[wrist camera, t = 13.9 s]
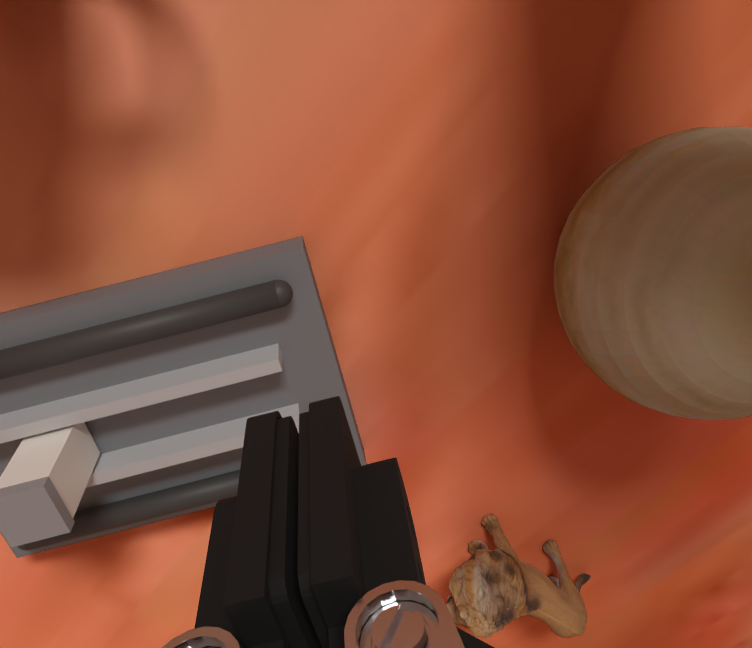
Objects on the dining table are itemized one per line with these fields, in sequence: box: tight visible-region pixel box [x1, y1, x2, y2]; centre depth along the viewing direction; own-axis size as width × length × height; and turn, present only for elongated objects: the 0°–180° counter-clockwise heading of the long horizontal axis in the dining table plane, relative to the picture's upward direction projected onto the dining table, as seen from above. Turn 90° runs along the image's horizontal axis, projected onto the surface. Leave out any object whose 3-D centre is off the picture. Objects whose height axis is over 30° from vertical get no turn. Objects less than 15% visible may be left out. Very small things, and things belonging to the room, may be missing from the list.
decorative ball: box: [554, 127, 752, 420], centre depth 35 cm, size 15×15×15 cm
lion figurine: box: [446, 514, 591, 638], centre depth 48 cm, size 15×5×9 cm, turn 64°
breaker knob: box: [0, 422, 100, 548], centre depth 37 cm, size 3×3×7 cm
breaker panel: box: [0, 236, 366, 558], centre depth 40 cm, size 24×16×4 cm, turn 103°
